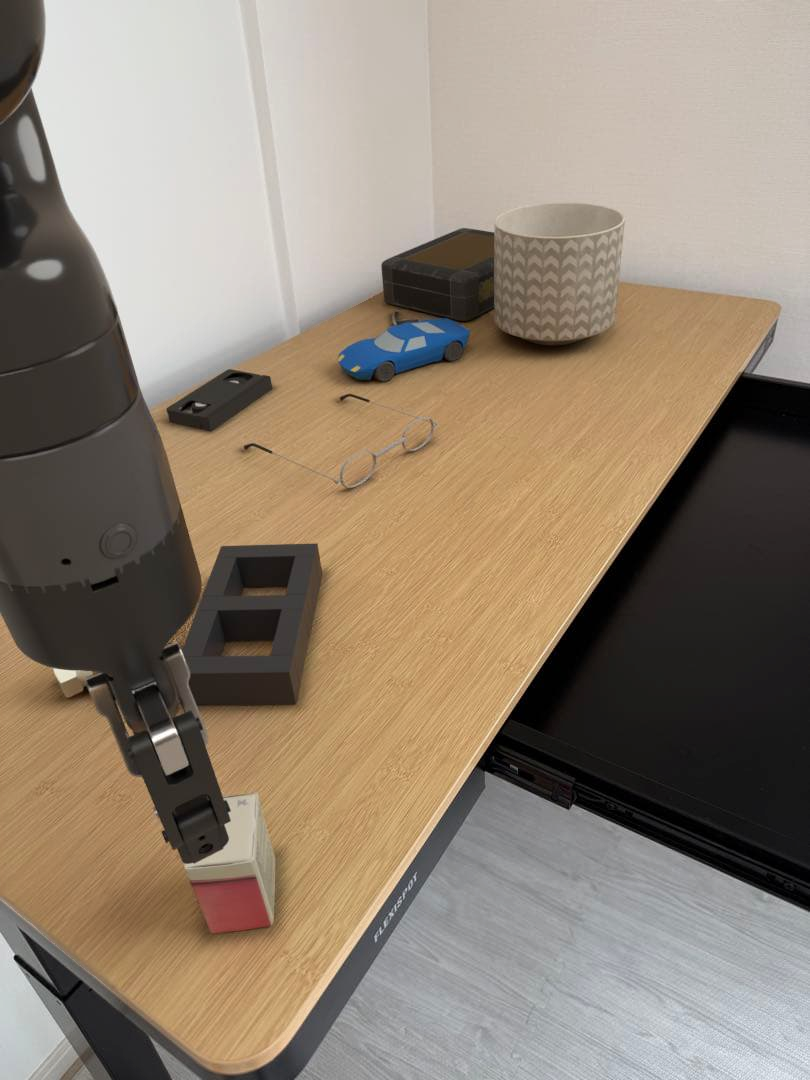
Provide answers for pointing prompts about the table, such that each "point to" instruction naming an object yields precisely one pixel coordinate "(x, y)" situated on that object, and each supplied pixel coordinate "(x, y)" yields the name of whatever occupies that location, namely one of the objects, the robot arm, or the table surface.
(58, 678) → the pipe fitting
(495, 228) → the planter
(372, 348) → the toy car
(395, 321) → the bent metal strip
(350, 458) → the eyeglasses
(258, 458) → the table surface
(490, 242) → the jewelry box
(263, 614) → the socket block
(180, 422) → the vhs tape
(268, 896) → the small box
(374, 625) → the table surface
